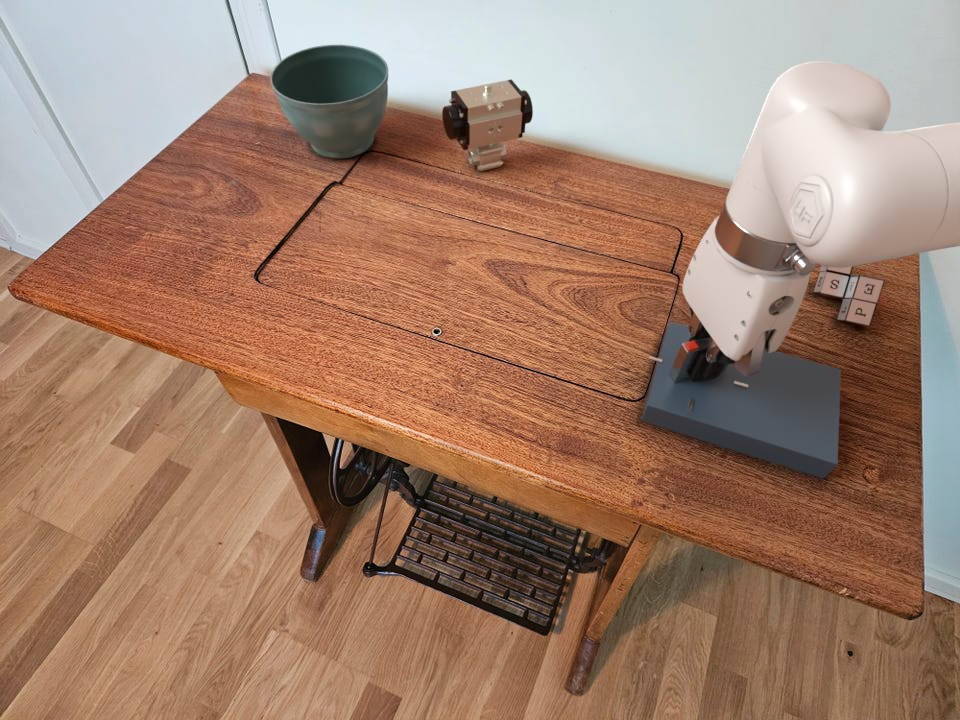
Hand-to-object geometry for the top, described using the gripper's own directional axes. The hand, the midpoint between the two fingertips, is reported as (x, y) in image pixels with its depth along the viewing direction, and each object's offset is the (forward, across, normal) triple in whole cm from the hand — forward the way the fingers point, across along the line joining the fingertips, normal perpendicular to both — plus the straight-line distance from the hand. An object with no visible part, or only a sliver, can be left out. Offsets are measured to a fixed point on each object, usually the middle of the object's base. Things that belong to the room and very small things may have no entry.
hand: (699, 368), depth 64 cm
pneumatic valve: (+4, +44, +9) cm, 46 cm away
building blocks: (+4, +6, -23) cm, 24 cm away
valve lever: (+1, 0, 0) cm, 1 cm away
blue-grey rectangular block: (+4, -3, -4) cm, 6 cm away
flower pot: (+4, +56, +28) cm, 63 cm away
